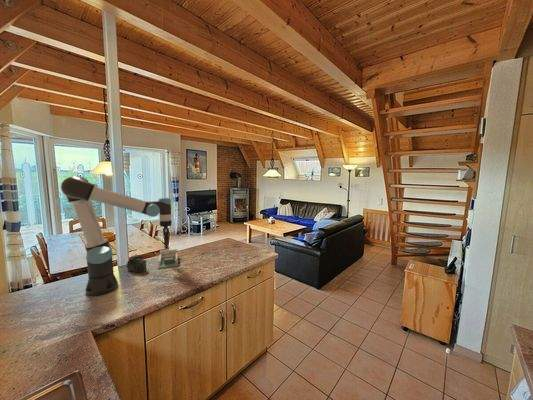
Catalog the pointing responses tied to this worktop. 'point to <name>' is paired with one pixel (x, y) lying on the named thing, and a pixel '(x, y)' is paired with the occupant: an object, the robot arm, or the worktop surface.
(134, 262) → the camera
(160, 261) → the header
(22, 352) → the worktop surface
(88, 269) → the robot arm
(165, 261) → the plug
